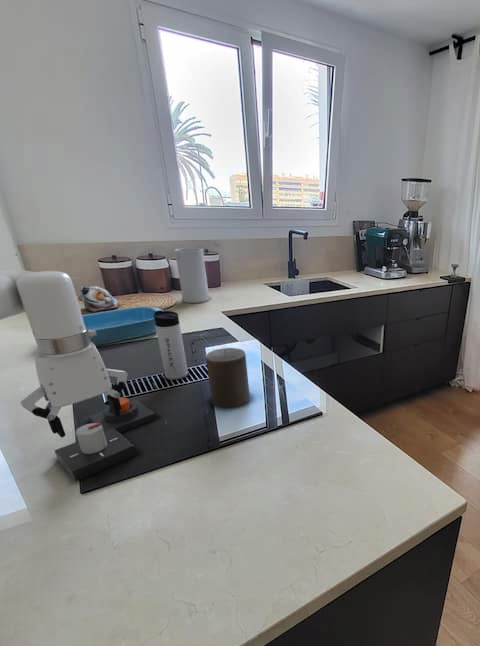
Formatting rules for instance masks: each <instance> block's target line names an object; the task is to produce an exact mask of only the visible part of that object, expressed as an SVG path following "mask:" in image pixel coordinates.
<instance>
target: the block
mask: <svg viewBox="0 0 480 646" xmlns="http://www.w3.org/2000/svg"><path fill="white" fill-rule="evenodd" d="M129 404H130V409H129V410H127V411H125V412H122V413H120V415H121V416H118V417H116V416H115V415H114V414H113V413H111V411H110V407H109V405H108V406H106V407H104V409H103V411H100V412H97V413H94V414H91V415H88V416H87V417H88V421H89V424H91V423H101V425H102V428H103V431H107V430H110V429H112V428H114V429H115V430H116V431H118V432H119V433H120V434H121V433H123V432H126V431H129V430H132V429H134V428H136V427H138V426H142V425H144V424H146V423H149V422H152V421H154V420H157V415H156V412H155V411H153V410H152V409H151V408H149V407H148V406H147V405H145V404H144V403H142V402H140V400H138V399H135V400H132V401H130V400H129Z"/></svg>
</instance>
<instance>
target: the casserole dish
mask: <svg viewBox="0 0 480 646" xmlns="http://www.w3.org/2000/svg"><path fill="white" fill-rule="evenodd" d="M159 310H162V311H164V309H162V308H159V307H152V306H133V307H126V308H120V309H119V308H118V309H113V310H112V309H111V310H105V311H98V312H93V313H86V314H82V317H83V321H84V324H85V328H86V329H87V330H95V331H96V334H97V336H95V337H93V338H91V340H90V341H91V342H92V343H93V344H94V345H95V347H96V346H101V345H107V344H111V343H117V342H120V341H125V340H131V339H135V338H140V337H144V336H149V335H152V334H155V333H157V331H156V326H155V320H154V313H155V311H159Z"/></svg>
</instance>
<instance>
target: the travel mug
mask: <svg viewBox="0 0 480 646" xmlns="http://www.w3.org/2000/svg"><path fill="white" fill-rule="evenodd" d="M162 310H163V309H162ZM162 310H159V311H155V313H154V320H155V326H156V336H157V341H158V346H159V352H160V356H161V361H162V367H163V372H164V377H165V379H167V380H170V381H176V380H182V379H185V378H187V376H188V375H189V371H188V365H187V358H186V353H185V348H184V341H183V335H182V330H181V322H180V317H179V313H177V312H176V311H172V310H163V311H162Z"/></svg>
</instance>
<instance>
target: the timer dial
mask: <svg viewBox="0 0 480 646" xmlns="http://www.w3.org/2000/svg"><path fill="white" fill-rule="evenodd" d="M75 435H76V439H77V442H78V441H79V445H80V448H81V451H82V452H83V453H84V454H93V453H97V452H99V451H101V450H103V449H104V448H106V446H107V442H106V438H105V435H104V431H103V428H102V425H101V423H86V424H83V425H82V426H80V427H78V428H77V429H75Z"/></svg>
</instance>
